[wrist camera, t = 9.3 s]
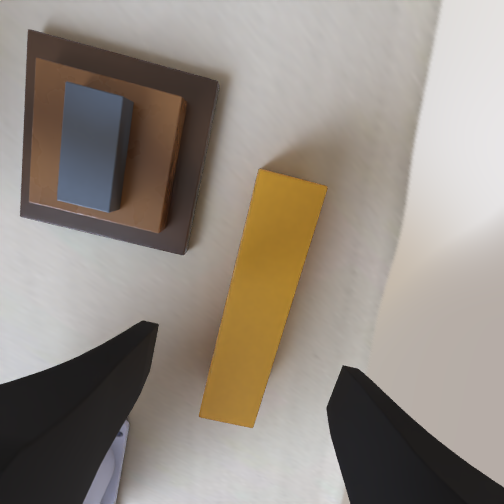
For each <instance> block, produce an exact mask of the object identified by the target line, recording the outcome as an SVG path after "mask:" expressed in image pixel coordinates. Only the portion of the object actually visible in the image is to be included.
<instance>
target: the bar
mask: <svg viewBox="0 0 504 504" xmlns="http://www.w3.org/2000/svg"><path fill="white" fill-rule="evenodd" d="M327 189H328V188H327V186H325V185H321V184H318V183H314V182H310V181H306V180H303V179H299V178H295V177H291V176H287V175H283V174H279V173H275V172H272V171H268V170H264V169H259V170H258V173H257V177H256V182H255V186H254V190H253V194H252V198H251V202H250V206H249V210H248V214H247V218H246V222H245V226H244V230H243V234H242V238H241V242H240V247H239V251H238V255H237V259H236V263H235V267H234V271H233V275H232V279H231V283H230V287H229V291H228V295H227V299H226V303H225V308H224V312H223V316H222V320H221V324H220V328H219V332H218V336H217V340H216V344H215V348H214V352H213V356H212V360H211V364H210V368H209V373H208V377H207V381H206V385H205V390H204V394H203V399H202V403H201V408H200V412H199V417H201V418H206V419H210V420H215V421H220V422H225V423H230V424H235V425H240V426H244V427H249V428H253V426H254V423H255V420H256V417H257V414H258V410H259V407H260V404H261V401H262V398H263V394H264V391H265V388H266V385H267V382H268V378H269V375H270V372H271V369H272V366H273V362H274V359H275V356H276V353H277V349H278V346H279V343H280V340H281V337H282V333H283V330H284V327H285V324H286V321H287V317H288V314H289V311H290V308H291V304H292V301H293V298H294V295H295V292H296V288H297V285H298V282H299V279H300V276H301V272H302V269H303V266H304V263H305V259H306V256H307V253H308V250H309V247H310V243H311V240H312V237H313V234H314V231H315V227H316V224H317V221H318V218H319V214H320V211H321V208H322V205H323V202H324V198H325V195H326V192H327Z"/></svg>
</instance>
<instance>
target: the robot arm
mask: <svg viewBox="0 0 504 504" xmlns="http://www.w3.org/2000/svg"><path fill="white" fill-rule="evenodd" d="M158 326H159V324H156V323H152V322H147V321H141V322H139V323H137V324H136V325H134V326H132V327H131V328H129V329H127V330H126V331H124V332H122V333H121V334H119V335H117V336H116V337H114V338H112V339H111V340H109V341H107V342H105V343H103V344H102V345H100V346H98V347H96V348H94V349H92V350H90V351H88V352H86V353H84V354H82V355H80V356H78V357H76V358H74V359H71V360H69V361H67V362H64V363H62V364H59V365H57V366H54V367H52V368H49V369H47V370H44V371H41V372H38V373H35V374H32V375H29V376H26V377H23V378H20V379H17V380H14V381H11V382H7V383H4V384H0V504H116V499H117V494H118V488H119V482H120V476H121V470H122V465H123V459H124V453H125V447H126V442H127V436H128V430H129V422H128V421H127V420H126V419H127V417H128V415H129V413H130V411H131V410H132V408H133V406H134V404H135V403H136V401H137V399H138V397H139V395H140V393H141V391H142V388H143V386H144V384H145V381H146V379H147V377H148V374H149V372H150V368H151V363H152V358H153V352H154V347H155V342H156V337H157V332H158ZM327 416H328V423H329V429H330V434H331V438H332V442H333V445H334V449H335V452H336V456H337V459H338V463H339V466H340V470H341V473H342V476H343V480H344V483H345V487H346V490H347V493H348V497H349V500H350V504H504V487H502V486H501V485H499V484H498V483H496V482H495V481H493V480H492V479H490V478H489V477H487V476H486V475H485V474H483V473H482V472H480V471H479V470H477V469H476V468H474V467H473V466H471V465H470V464H468V463H467V462H466V461H464V460H463V459H462V458H460V457H459V456H458V455H456V454H455V453H454V452H452V451H451V450H450V449H448V448H447V447H446V446H445V445H443V444H442V443H441V442H439V441H438V440H437V439H436V438H435V437H433V436H432V435H431V434H430V433H428V432H427V431H426V430H425V429H424V428H423V427H422V426H420V425H419V424H418V423H417V422H416V421H415V420H413V419H412V418H411V417H410V416H409V415H408V414H407V413H405V411H403V410H402V409H401V408H400V407H399V406H398V405H397V404H396V403H395V402H394V401H393V400H392V399H391V398H390V397H389V396H387V395H386V394H385V393H384V392H383V391H382V390H381V389H380V388H379V387H378V386H377V385H376V384H375V383H374V382H373V381H372V380H371V379H369V378H368V377H367V376H366V375H365V374H364V373H363V372H361V371H360V370H359V369H357V368H353V367H348V366H344V365H343V366H342V369H341V371H340V374H339V377H338V379H337V382H336V384H335V387H334V389H333V392H332V395H331V397H330V400H329V402H328V405H327ZM119 431H120V432H119Z"/></svg>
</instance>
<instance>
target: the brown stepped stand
mask: <svg viewBox="0 0 504 504" xmlns="http://www.w3.org/2000/svg"><path fill="white" fill-rule="evenodd" d="M219 87H220V85H219V83H218V81H216V80H212V79H209V78H205V77H201V76H198V75H194V74H191V73H187V72H183V71H180V70H176V69H172V68H169V67H165V66H161V65H158V64H154V63H150V62H147V61H143V60H140V59H136V58H132V57H129V56H125V55H121V54H118V53H114V52H110V51H107V50H103V49H99V48H96V47H92V46H89V45H85V44H81V43H78V42H74V41H70V40H67V39H63V38H59V37H56V36H52V35H48V34H45V33H41V32H38V31H34V30H28V41H27V64H26V88H25V112H24V136H23V159H22V183H21V207H20V216H21V217H24V218H28V219H32V220H36V221H41V222H45V223H49V224H53V225H57V226H62V227H66V228H70V229H74V230H79V231H83V232H87V233H91V234H95V235H100V236H104V237H108V238H112V239H116V240H121V241H125V242H129V243H133V244H137V245H142V246H146V247H150V248H154V249H158V250H163V251H167V252H171V253H175V254H180V255H184V254H185V253H186V252H187V248H188V243H189V238H190V233H191V228H192V223H193V218H194V213H195V208H196V203H197V198H198V193H199V188H200V183H201V178H202V173H203V168H204V163H205V158H206V153H207V148H208V142H209V137H210V132H211V127H212V122H213V117H214V112H215V107H216V102H217V97H218V92H219Z"/></svg>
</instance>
